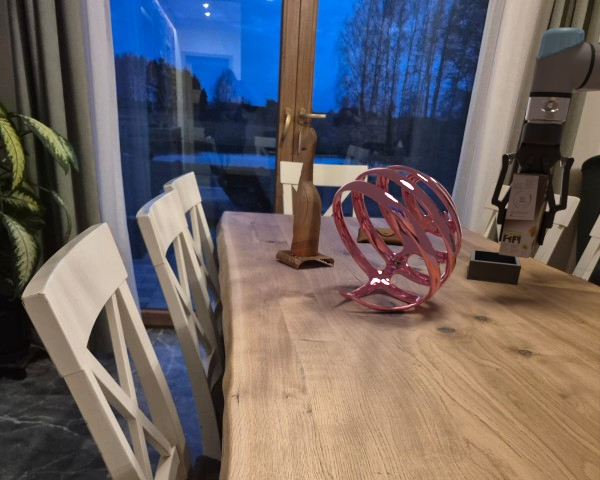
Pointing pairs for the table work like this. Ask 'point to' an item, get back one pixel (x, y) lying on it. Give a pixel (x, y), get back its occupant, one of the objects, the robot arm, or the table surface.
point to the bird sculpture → (306, 213)
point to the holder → (493, 267)
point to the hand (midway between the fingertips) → (520, 242)
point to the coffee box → (524, 214)
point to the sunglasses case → (384, 233)
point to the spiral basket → (401, 234)
